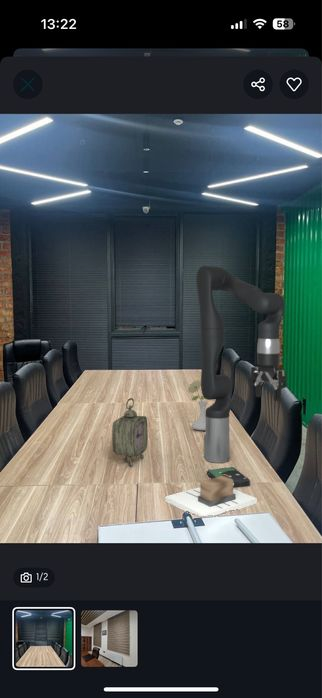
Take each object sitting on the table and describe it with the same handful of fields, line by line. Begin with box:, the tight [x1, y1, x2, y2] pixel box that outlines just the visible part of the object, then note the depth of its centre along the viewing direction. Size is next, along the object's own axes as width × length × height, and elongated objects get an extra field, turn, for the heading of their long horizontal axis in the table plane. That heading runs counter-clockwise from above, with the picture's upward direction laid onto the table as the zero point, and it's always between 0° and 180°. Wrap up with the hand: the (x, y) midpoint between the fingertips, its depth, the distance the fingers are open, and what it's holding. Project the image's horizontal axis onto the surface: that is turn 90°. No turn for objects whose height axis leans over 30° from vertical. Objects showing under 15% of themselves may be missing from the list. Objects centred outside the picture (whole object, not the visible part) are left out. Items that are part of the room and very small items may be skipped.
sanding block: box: [198, 476, 236, 507], centre depth 149 cm, size 10×6×6 cm, turn 126°
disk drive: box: [206, 466, 251, 489], centre depth 172 cm, size 10×3×15 cm
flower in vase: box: [187, 379, 209, 431], centre depth 247 cm, size 13×11×25 cm
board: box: [164, 486, 258, 516], centre depth 152 cm, size 18×21×2 cm
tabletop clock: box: [111, 397, 149, 468], centre depth 193 cm, size 14×9×25 cm, turn 160°
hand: (267, 398), depth 173 cm, fingers open, 8 cm apart
